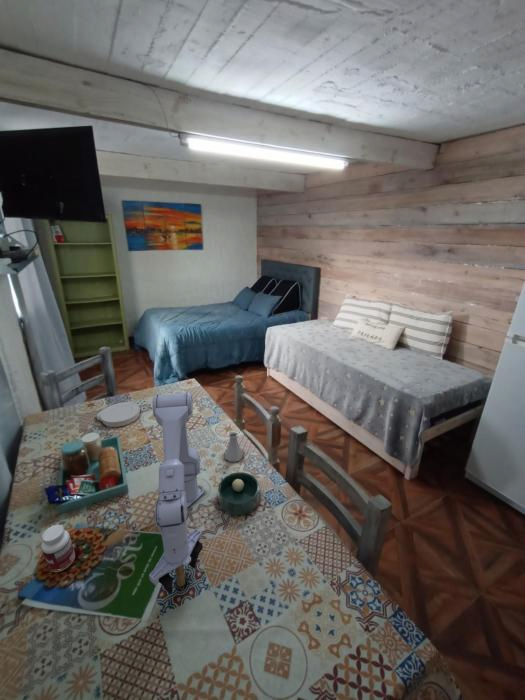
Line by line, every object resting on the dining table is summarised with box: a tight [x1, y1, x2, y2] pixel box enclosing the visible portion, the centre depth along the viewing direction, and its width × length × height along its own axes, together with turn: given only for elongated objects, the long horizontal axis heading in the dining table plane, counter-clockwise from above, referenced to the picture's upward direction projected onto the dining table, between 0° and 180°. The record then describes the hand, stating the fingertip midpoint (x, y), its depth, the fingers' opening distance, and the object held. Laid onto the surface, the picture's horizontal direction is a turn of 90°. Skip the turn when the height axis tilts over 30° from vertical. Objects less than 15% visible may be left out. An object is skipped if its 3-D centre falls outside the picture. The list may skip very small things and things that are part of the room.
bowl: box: [217, 471, 260, 517], centre depth 104 cm, size 13×13×5 cm
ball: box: [232, 479, 244, 492], centre depth 106 cm, size 4×4×4 cm
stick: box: [174, 565, 186, 588], centre depth 78 cm, size 2×2×8 cm
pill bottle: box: [41, 524, 76, 573], centre depth 83 cm, size 6×6×11 cm
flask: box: [224, 431, 244, 463], centre depth 122 cm, size 7×7×10 cm
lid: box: [96, 401, 141, 428], centre depth 149 cm, size 17×20×3 cm
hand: (180, 577), depth 79 cm, fingers open, 7 cm apart
